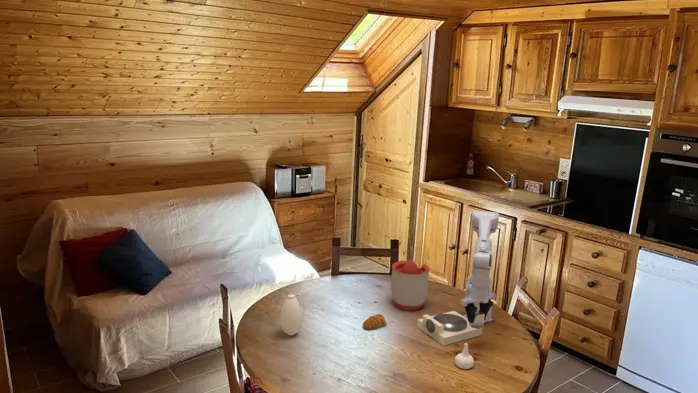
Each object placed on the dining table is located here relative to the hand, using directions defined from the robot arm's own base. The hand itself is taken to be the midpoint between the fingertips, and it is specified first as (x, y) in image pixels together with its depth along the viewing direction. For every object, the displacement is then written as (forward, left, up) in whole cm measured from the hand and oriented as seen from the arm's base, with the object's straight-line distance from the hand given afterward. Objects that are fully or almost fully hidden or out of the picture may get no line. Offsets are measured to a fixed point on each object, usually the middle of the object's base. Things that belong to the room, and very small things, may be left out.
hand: (476, 320), depth 186 cm
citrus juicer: (+2, -38, -10) cm, 39 cm away
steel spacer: (0, 0, -2) cm, 2 cm away
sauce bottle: (+57, -35, -10) cm, 67 cm away
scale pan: (+2, -12, -6) cm, 14 cm away
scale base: (+2, -12, -9) cm, 15 cm away
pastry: (+25, -28, -10) cm, 39 cm away
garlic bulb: (+13, +9, -10) cm, 18 cm away
